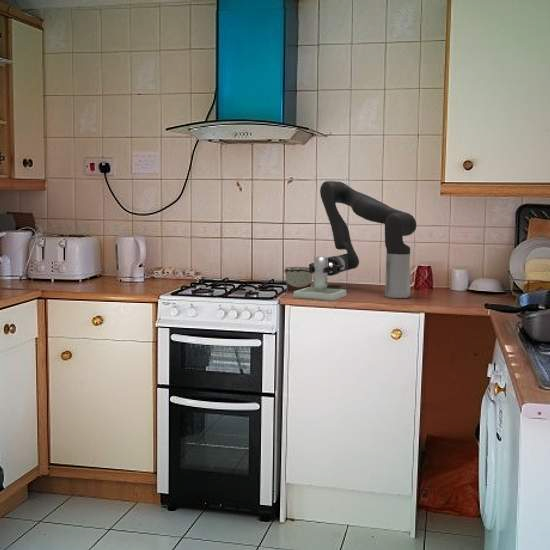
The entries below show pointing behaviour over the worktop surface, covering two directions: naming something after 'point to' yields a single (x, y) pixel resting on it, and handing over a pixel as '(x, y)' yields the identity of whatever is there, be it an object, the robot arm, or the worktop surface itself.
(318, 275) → the grey metallic cylinder
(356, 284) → the worktop surface
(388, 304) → the worktop surface
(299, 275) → the food container
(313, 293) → the tray
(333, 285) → the socket block
